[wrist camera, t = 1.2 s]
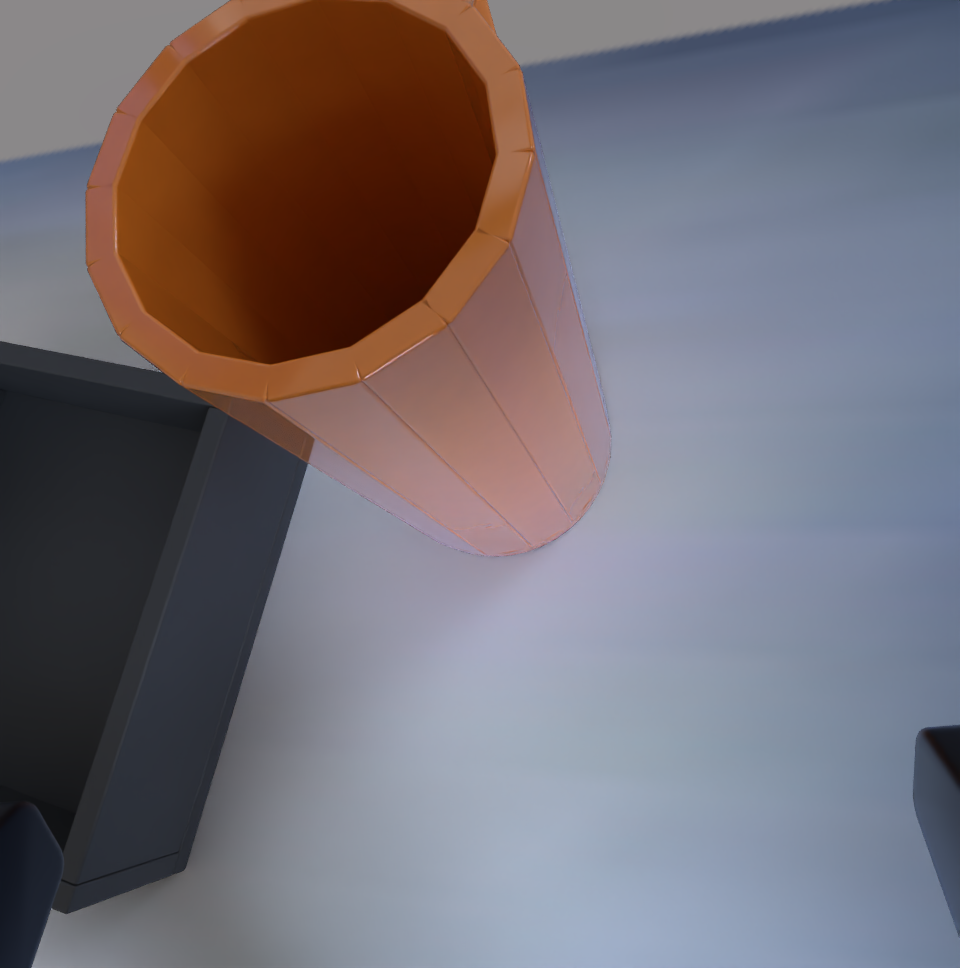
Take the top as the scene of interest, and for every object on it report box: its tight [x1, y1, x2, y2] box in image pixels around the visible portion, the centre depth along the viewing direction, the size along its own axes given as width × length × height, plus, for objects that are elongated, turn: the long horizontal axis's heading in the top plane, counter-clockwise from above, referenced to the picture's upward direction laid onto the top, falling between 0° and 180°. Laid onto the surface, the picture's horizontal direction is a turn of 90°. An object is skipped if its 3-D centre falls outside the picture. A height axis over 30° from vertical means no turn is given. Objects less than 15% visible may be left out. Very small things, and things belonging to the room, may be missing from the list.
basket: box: [0, 341, 308, 914], centre depth 23 cm, size 12×11×5 cm
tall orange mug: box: [86, 0, 611, 556], centre depth 17 cm, size 9×6×13 cm
